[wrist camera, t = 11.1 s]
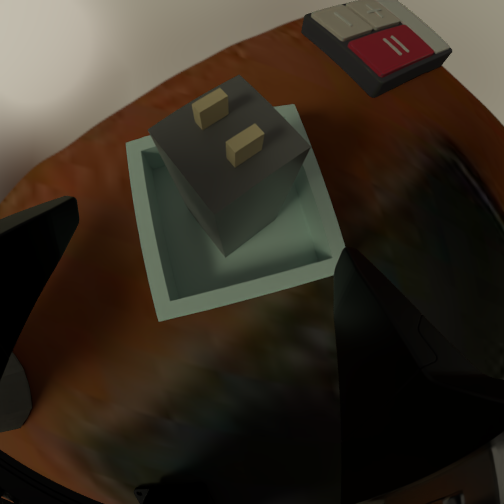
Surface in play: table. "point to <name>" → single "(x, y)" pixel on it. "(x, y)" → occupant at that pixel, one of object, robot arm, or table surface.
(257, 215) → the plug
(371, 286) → the robot arm
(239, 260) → the walled box
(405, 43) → the calculator
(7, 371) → the coffeepot
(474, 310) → the table surface
